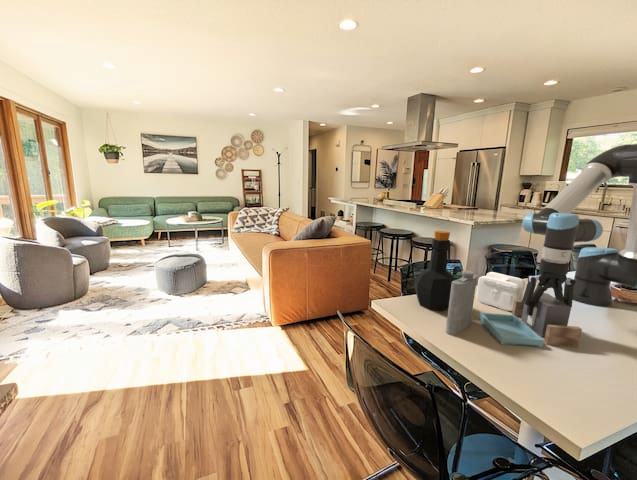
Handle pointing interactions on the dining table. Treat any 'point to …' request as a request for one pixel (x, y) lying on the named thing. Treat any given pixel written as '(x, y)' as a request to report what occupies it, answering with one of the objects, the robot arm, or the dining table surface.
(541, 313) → the grey rectangular block
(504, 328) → the teal tray
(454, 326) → the hip flask
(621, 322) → the dining table surface
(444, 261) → the bottle
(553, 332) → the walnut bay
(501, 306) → the cable organizer
